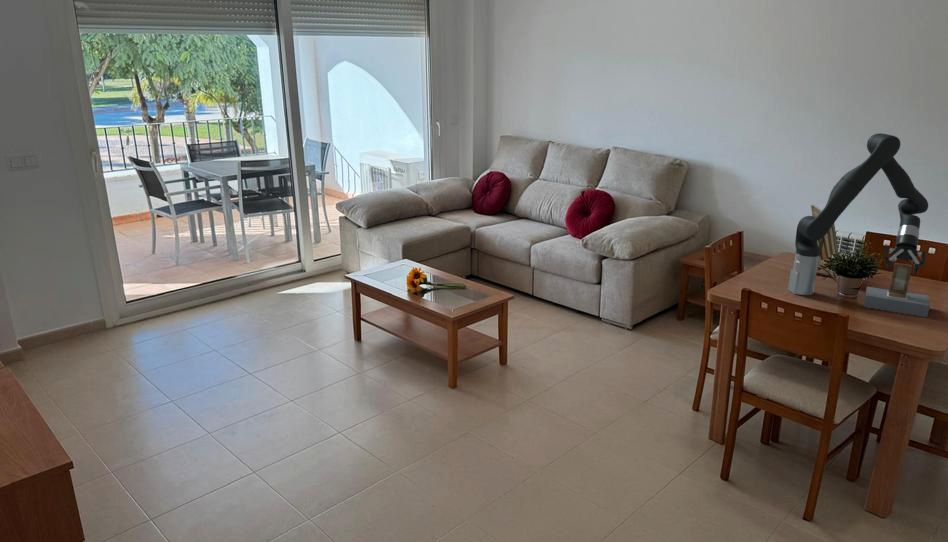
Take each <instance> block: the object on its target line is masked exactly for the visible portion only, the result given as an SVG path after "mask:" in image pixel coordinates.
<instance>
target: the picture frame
mask: <svg viewBox="0 0 948 542" xmlns="http://www.w3.org/2000/svg"><path fill="white" fill-rule="evenodd" d="M810 209H811V214H812V215H811V216H813V217H817V216H818V215H819V214H820V213H821V211H822V210H823V209H820V208H819V207H818V206H816V205H814V204H811V205H810ZM835 226H836V225H835V223H834V224H833V225H832V227H831V228H830V230H829V231H828V232H827V234H826V235H825V236H824V237H823V238H822V239H820V240H817V244H818V246H819V248H820V255H819V261H818V264H819V265H820V266H821V265H822V264H823V263H824V260H826V259H828V258H829V257H831V255H833V254H838V253H839V248H838V240H837V234H836V233H837V232H836V227H835ZM824 270H825V271H826V272H827V273H828V274H829V275H830V276H831V277H832V278H833V280H835V281H836V282H837V276H836V275H835V273H834V272H833V271H830V270H826V269H824Z"/></svg>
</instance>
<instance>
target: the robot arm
mask: <svg viewBox="0 0 948 542" xmlns="http://www.w3.org/2000/svg"><path fill="white" fill-rule="evenodd" d="M866 142H867V143H866V148H867V151H868V152H869V154H870V155H869V156H868V157H867V158H866V159H865V160H864V161H863V162H862V163H861V164H859V165H857V166H856V167H853V168H852V169H850V170H849V171H848V172H846V173H845V174H844V175H843V176H841V178H840V179H839V180H838V182H836V184H835V185H834V186H833V187H832V190H831V191H830V194H829V196H828V198H827V199H828V200H827V203H826V205H825V206H824V207H823V209H821V210H822V211H821V213H820V214H819V215H818V216H817V217H813V216H812V215H806V216H804V217H802V218H801V219H800V220H799V221H798V223H797V227H796V231H795V232H796V233H795V241H794V245H795V255H794V256H795V257H794V263H793V269H792V268H791V270H790V273H789V275H790V276H789V279H788V280H789V281H788V288H787V290H788V291H789V292H791V293H792V294H793V295H800V296H812V295H814V290H815V286H816V285H815V284H816V278H817V271H818V268H819V263H818V261H819V255H820V248H819V246H818V244H817V240H820V239H822V238H823V237H824V236H825V235H826V234H827V232H828V231H829V230H830V228H831V227H832V225H833V224H834V225H835V222H836V221H837V219H838V218H839V217H840V216H841V215H842V214H843V212H844V211H845V210H846V209H847V208H848V207H849V206H850V204H851V203H852V202H853V201H854V200H855V199H856V197H857V196H858V195H859V194H860V193H861V191H863V189H864V188H865V187H866V186H867V185H868V184H869V182H870V181H871V180H872V179H873V178H874V177H875V175H877V174H878V172H879V171H880V170H882V172H883V173H884V174H885V176H886V178H887V180H888V181H889V183H890V185H891V187H892V189H893V191H894V193H895V195H896V197H897V198H899V199H901V200H900V202H899V203H898V205H897V207H898V208H897V209H898V212H899V218H900V219H899V221H900V223H899V228H898V231H897V236H896V242H895V247H894V248H892V247H890V246H886V247H885V252H884V255H883V259H882V261H883V262H886V263H887V265H886V269H887V270H888V272H891V271H892V266H893V262H896V261H897V260H900V261H906V262H910V263H911V264H913V270H912V271H913V273H912V275H914V276H915V275H916V274H918V272H919V267H921V268H923V267H924V266H925V263H926V253H927V251H926V250H924V251H918V250H917V249H918V244H919V238H920V226H921V218H920V217H919V216H918V214H919V215H920V214H923V213H924V214H925V212H927V211H928V209H929V202H928V200H927V198H926V197H925V196H924V195H923V194H922V193H921V192H920V191H919V189H917V188H916V187H915V185H914V183H913V182H912V179H911V177H910V176H909V174H908V173H907V172H906V171H905V169H904V168H903V167H902V166H901V164H899V163H898V161H897V160H896V159H895V156H896V155H897V153H898V152H899V151H900V149H901V140H900V139H899V138H898V137H897V136H895V135H891V134H887V133H882V132H881V133H878V132H877V133H874V134H873V135H871V136H870V137H869V138H868V139H867V141H866ZM891 253H893V255H892V256H890V257H889V254H891ZM917 256H918V257H919V258H920V261H919V260H918V259H917Z"/></svg>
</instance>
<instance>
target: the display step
mask: <svg viewBox="0 0 948 542" xmlns="http://www.w3.org/2000/svg"><path fill="white" fill-rule="evenodd" d="M864 296H865V297H864V301H863V308H865V307H867V308H866V309H871V308H874V309H873V310H878V309H881V310H880V311H884V310H887V311H886V312H890V311H892V313H896V312H897V313H896V314H902V313H903V314H902V315H908V314H910V316H914V315H916V316H915V317H920V316H921V317H922V318H928V315H929V312H930V311H929V310H930V306H931V305H930V304H931V303H930V295H927V294H918V293H911V292H907V294H906V298H899V297H892V296H889V289H887V288H886V289H885V288H878V287H873V286H866V289H865V295H864ZM921 317H920V318H921Z"/></svg>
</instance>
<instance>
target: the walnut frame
mask: <svg viewBox="0 0 948 542" xmlns="http://www.w3.org/2000/svg"><path fill="white" fill-rule="evenodd" d="M912 269H913V265H912V264H908V263H907V264H906V263H898V262H895V263H894V265H893V271H892V274H891V280H890V285H889V289H888V290H889V296H892V297H899V298H906V294H907V293H908V288H909V284H910V279H911V274H912V271H913V270H912Z"/></svg>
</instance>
